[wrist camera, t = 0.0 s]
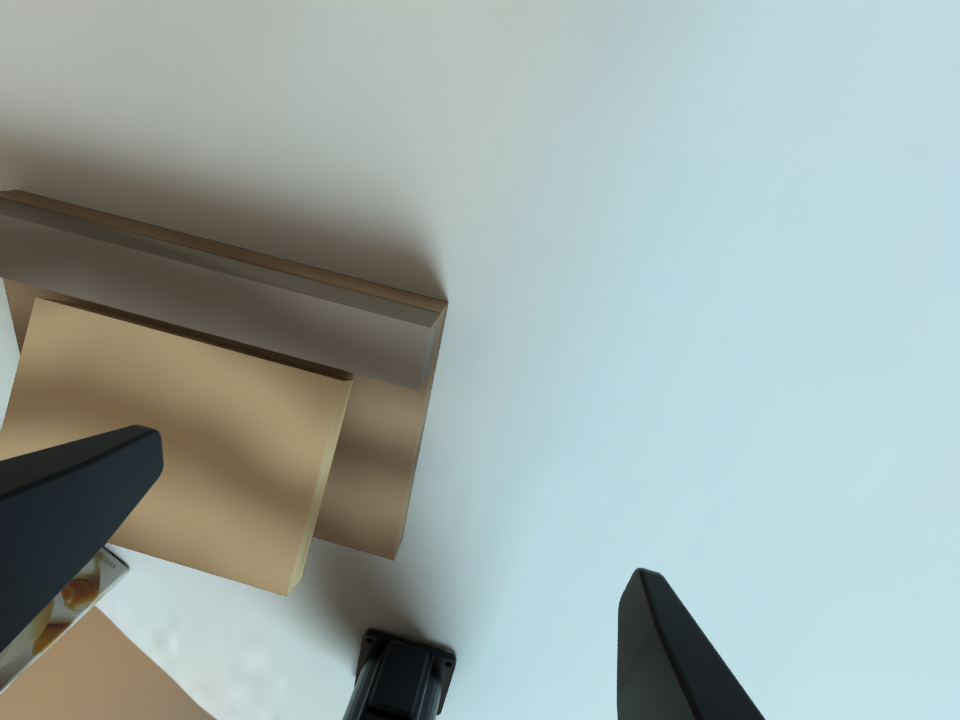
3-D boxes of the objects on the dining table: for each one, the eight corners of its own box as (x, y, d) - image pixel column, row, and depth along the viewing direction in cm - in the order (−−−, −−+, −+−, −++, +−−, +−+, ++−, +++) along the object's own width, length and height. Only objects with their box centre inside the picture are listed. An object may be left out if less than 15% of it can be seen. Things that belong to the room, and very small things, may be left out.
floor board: (401, 540, 29) (383, 586, 26) (66, 443, 30) (12, 476, 28) (448, 302, 23) (430, 326, 20) (16, 190, 24) (-62, 196, 21)
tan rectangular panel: (300, 581, 23) (286, 596, 22) (14, 496, 24) (-18, 505, 23) (353, 379, 23) (343, 381, 22) (64, 301, 24) (35, 296, 22)
